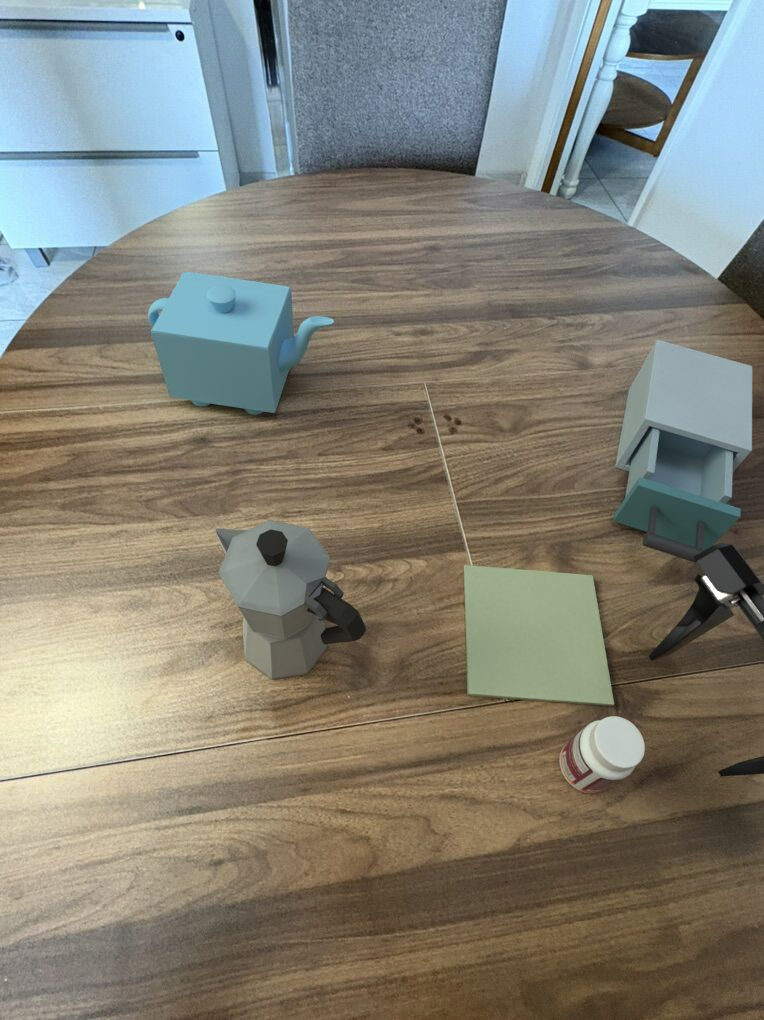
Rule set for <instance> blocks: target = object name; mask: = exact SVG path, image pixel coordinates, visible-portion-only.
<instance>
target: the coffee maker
mask: <svg viewBox="0 0 764 1020" xmlns="http://www.w3.org/2000/svg"><path fill="white" fill-rule="evenodd" d="M214 533H215V535H216V537H217V539H218V542H219V543H220V546H221V548H222V551H223V553H224V554H225V556H224V558H223V559H222V563H221V565H220V568H219V570H218V576H219V577H220V579H221V581H222V582H223V584H224V586H225V588H226V589H227V591H228V593H229V594H230V596H231V598H232V600H233V601H234V603H235V605H236V607H237V608H238V609H239V611H240V612H241V614H242V618H243V619H242V627H241V629H242V643H243V655H244V656H243V657H244V661H245V662H247V663H248V665H249V664H250V666H252V667H254V668H255V669H256V670H258V671H259V672H260V673H261V674H263V675H264V676H265V677H267V678H268V679H270V680H271V681H274V680H281V679H285V678H292V677H298V676H304V675H308V674H309V673H310V672H311V670H312V669H313V668H314V666H315V665H316V664H317V663H318V661H319V660H320V659H321V658H322V657H323V655H324V654H325V652H326V651H327V650H328V648H329V645H333V644H342V643H353V642H356V641H359V640H361V639H362V638H363V636H364V634H366V632H367V626H366V624H365V622H364V620H363V618H362V616H361V614H360V613H359V611H358V610H357V608H355V606H353V605H352V604H351V603H349V602H348V601H346V600H345V599H343V597H344V593H345V592H344V591H343V590H342V589H341V588H340V587H339V585H337V584H336V583H335V582H334V581H332V580H331V579H329V578H328V577H327V572H328V570H329V569H328V568H329V565H330V561H331V557H330V556H329V554H328V552H327V551H326V550H325V548H324V547H323V545H322V544H321V542H320V541H319V540H318V539H317V537H316V535H315V534H314V533H313V531H312V530H311V528H310V527H307V526H301V525H298V524H293V523H287V522H284V521H279V520H273V519H267V520H266V521H264V522H262V523H260V524H258V525H256V526H254V527H251V528H247V529H246V528H224V527H223V528H221V527H217V528H215V529H214ZM326 621H327V622H329V623H332V624H333V625H334V626H328V627H326Z"/></svg>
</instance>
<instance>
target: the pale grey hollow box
mask: <svg viewBox="0 0 764 1020" xmlns="http://www.w3.org/2000/svg"><path fill="white" fill-rule="evenodd" d="M626 397H627V398H626V403H625V408H624V414H623V419H622V426H621V432H620V438H619V444H618V448H617V454H616V460H615V465H614V467H615V468H616V469H619V470H622V471H625V472H628V473H629V471H630V464H631V458H632V453H633V451H634V450H635V448H636V447H637V445H638V444H639V442H640V440H641V439H642V437H643V436H644V434H645V432H646V431H647V429H648V428H649V426H651V427H655V428H658V429H661V430H665V431H668V432H671V433H675V434H678V435H681V436H685V437H688V438H691V439H695V440H698V441H701V442H705V443H708V444H711V445H715V446H718V447H721V448H724V449H728V450H731V451H733V473H734V472H735V471H736V470H737V469H738V467H740V465H742V463H743V462H744V460H746V458H747V457H748V456H749V455H750V453H752V451H753V366H752V365H750V364H747V363H744V362H743V363H742V362H739V361H735V360H732V359H728V358H724V357H722V356H717V355H714V354H710V353H707V352H703V351H700V350H696V349H693V348H689V347H685V346H682V345H678V344H675V343H672V342H668V341H664V340H661V339H656V340H655V342H654V343H653V346H652V347H651V349H650V351H649V353H648V355H647V356H646V359H644V362H643V364H642V366H641V367H640V369H639V371H638V373H637V374H636V376H635V378H634V380H633V381H632V383H631V384H630V386H629V389H628V392H627V396H626Z"/></svg>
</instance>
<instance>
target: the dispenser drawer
mask: <svg viewBox="0 0 764 1020" xmlns="http://www.w3.org/2000/svg"><path fill="white" fill-rule="evenodd" d="M733 474H734V472H733V451H731V450H728V449H724V448H721V447H718V446H715V445H711V444H708V443H705V442H701V441H698V440H695V439H691V438H688V437H685V436H681V435H678V434H675V433H671V432H668V431H665V430H661V429H658V428H655V427H651V426H649V428H648V429H647V431H646V432H645V434H644V436H643V437H642V439H641V440H640V442H639V444H638V445H637V447H636V448H635V450H634V451H633V453H632V458H631V464H630V471H629V472H628V478H627V484H626V491H625V497H624V499H623V500H622V502H621V503H620V504H619V506H618V508H617V509H616V511H615V512H614V514H613V519H612V520H613V522H614V523H618V524H621V525H623V526H627V527H630V528H632V529H636V530H640V531H643V532H645V534H644V536H643V538H642V547H646V548H650V549H653V550H655V551H659V552H661V553H664V554H668V555H672V556H674V557H677V558H679V559H682V560H686V561H690V562H692V563H695V564H697V562H696V561H695V559H694V556H695V555H697V554H699V553H701V552H702V551H704V550H706V549H708V548H709V547H711V546H713V545H716V544H717V542H718V541H719V540H720V539H721V538H722V537H723V536H724V535H725V534H726V532H728V530H729V529H730V528H731V527H732V526H734V525H735V523H737V522H738V521H739V519H741V515H742V511H741V510H742V509H741V508H740V507H736V506H733V505H730V504H728V502H729V501H730V500H731V499H733V498H732V497H733V476H734V475H733Z"/></svg>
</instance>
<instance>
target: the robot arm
mask: <svg viewBox="0 0 764 1020" xmlns="http://www.w3.org/2000/svg"><path fill="white" fill-rule="evenodd" d="M694 559H695V561H696V562H697V563H696V564H697V565H698V567H699V568H700V570H701V571H702V572H703V574H702V575H701V574H700V573H698V574H696V575H695V576H694V578H693V580H694V582H695V584H696V585H697V587H698V591H697V593H696V595H695V597H694V600H693V602H692V604H691V606H689V607H688V610H687V611H686V613H685V614H684V615H683V616H682V618H681V619H680V620H679V622H678V623H677V624H676V625H675V626H674V627H673V629H671V631H670V632H669V633H668V634H667V635H666V636H665V637H664V638H663V639H662V641H660V643H658V645H657V646H656V647H655V648H654V649H653V651H652V652H651V653H650V654H649V655H648V658H649V660H650V661H651V662H656V661H658V660H660V659H663V658H665V657H668V656H670V655H672V654H673V653H675V652H677V651H679V650H680V649H682V648H684V647H685V646H686V645H688V644H690V643H691V642H693V641H695V640H696V639H698V638H700V637H702V636H703V635H705V634H706V633H708V632H709V631H712V629H715V628H716V627H717V626H719V625H721V624H723V623H724V622H726V621H727V620H729V619H731V618H732V617H734V616H735V613H734V612H733V610H732V609H731V608H732V607H734V608H737V607H738V608H739V609H740V610H741V611H742V613H743V615H744V616H745V617H746V618H747V621H749V623H750V624H751V625H752V627H753V628H754V630H755V631H756V632H757V634H758V635H759V637H760V638H761V639H762V641H763V642H764V597H763V596H764V582H763V581H762V580H761V578H760V577H759V576H758V574H757V573H756V572H755V571H754V569H753V568H752V567H751V565H750V564H749V563H748V561H747V560H746V559H745V557H744V556H743V555H742V554H741V553H740V552H739V551H738V549H737V548H736V547H735V546H734V545H733V544H730V543H724V542H720V543H715V544H714V545H713V546H711V547H709V548H708V549H706V550H704V551H702V552H701V553H699V554H697V555H695V556H694ZM717 772H718V774H719V776H720V777H735V776H737V777H738V776H751V775H764V755H762V756H758V757H754V758H750V759H745V760H742V761H739V762H736V763H734V764H732V765H729V766H727V767H724V768H722V769H719V770H718V771H717Z"/></svg>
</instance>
